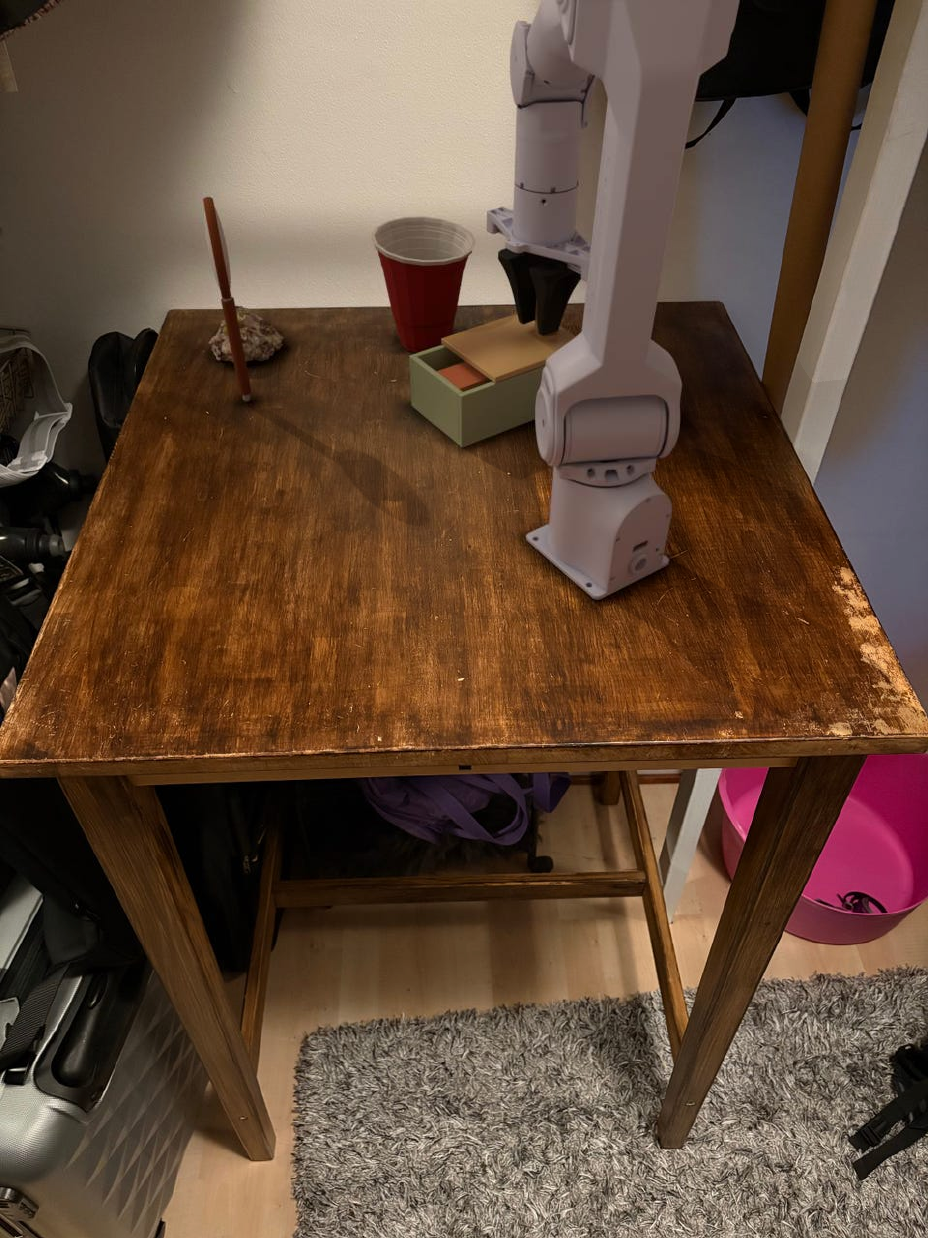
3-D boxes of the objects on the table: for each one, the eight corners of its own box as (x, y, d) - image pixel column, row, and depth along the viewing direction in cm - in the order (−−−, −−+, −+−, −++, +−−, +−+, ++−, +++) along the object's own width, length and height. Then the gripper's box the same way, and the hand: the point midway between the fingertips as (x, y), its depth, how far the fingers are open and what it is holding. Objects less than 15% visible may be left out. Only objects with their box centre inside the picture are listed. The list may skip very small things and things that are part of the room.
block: (492, 412, 90) (493, 376, 87) (459, 425, 89) (459, 388, 86) (470, 395, 93) (470, 359, 90) (437, 406, 91) (436, 371, 88)
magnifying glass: (235, 381, 96) (195, 183, 82) (252, 378, 96) (214, 181, 82) (242, 424, 90) (200, 219, 76) (259, 422, 90) (221, 217, 76)
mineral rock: (289, 342, 97) (211, 331, 94) (283, 380, 100) (208, 370, 97) (280, 301, 105) (208, 290, 102) (275, 337, 107) (205, 327, 105)
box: (553, 412, 91) (557, 361, 87) (461, 448, 87) (461, 396, 83) (500, 373, 97) (501, 324, 93) (411, 405, 92) (408, 355, 88)
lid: (587, 349, 89) (592, 304, 86) (495, 383, 84) (496, 337, 81) (531, 313, 94) (533, 270, 91) (441, 343, 90) (439, 299, 87)
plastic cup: (455, 373, 97) (453, 262, 88) (363, 356, 100) (353, 247, 91) (488, 327, 104) (490, 221, 96) (402, 313, 107) (396, 208, 98)
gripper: (461, 168, 82) (462, 310, 92) (567, 217, 74) (556, 367, 84) (520, 152, 85) (515, 291, 95) (629, 197, 77) (612, 345, 87)
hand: (538, 326), depth 90 cm, fingers closed on lid, 2 cm apart
